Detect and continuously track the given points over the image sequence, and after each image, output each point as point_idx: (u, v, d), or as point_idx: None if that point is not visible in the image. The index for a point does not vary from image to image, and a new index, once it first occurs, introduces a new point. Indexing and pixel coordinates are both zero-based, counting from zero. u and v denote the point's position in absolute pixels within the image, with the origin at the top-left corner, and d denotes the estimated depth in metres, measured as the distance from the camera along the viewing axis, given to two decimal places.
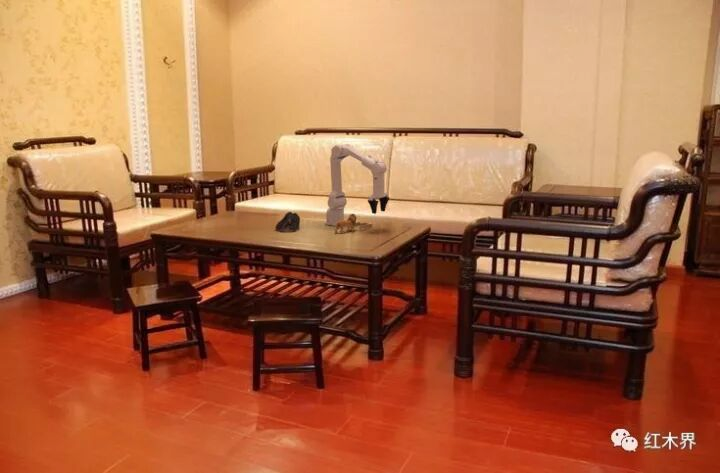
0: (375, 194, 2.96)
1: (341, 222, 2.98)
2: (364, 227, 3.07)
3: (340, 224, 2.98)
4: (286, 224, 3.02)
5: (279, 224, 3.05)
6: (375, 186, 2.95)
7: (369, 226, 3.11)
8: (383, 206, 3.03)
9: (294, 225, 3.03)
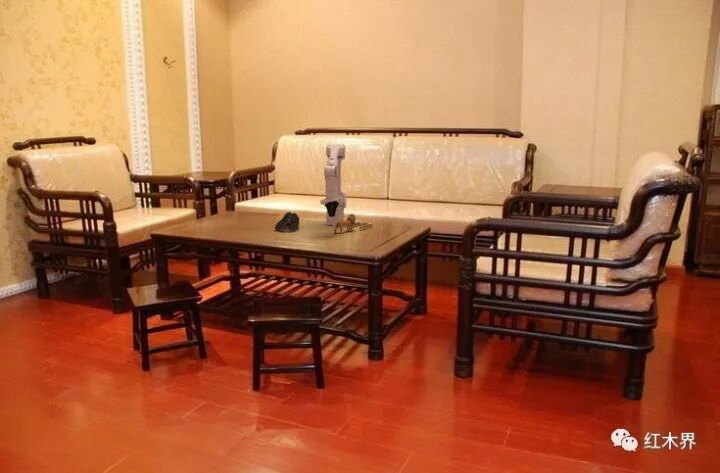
0: (327, 198, 2.87)
1: (340, 222, 2.97)
2: (364, 227, 3.07)
3: (339, 224, 2.97)
4: (285, 224, 3.02)
5: (278, 224, 3.05)
6: None
7: (369, 226, 3.11)
8: (333, 211, 2.91)
9: (293, 225, 3.03)
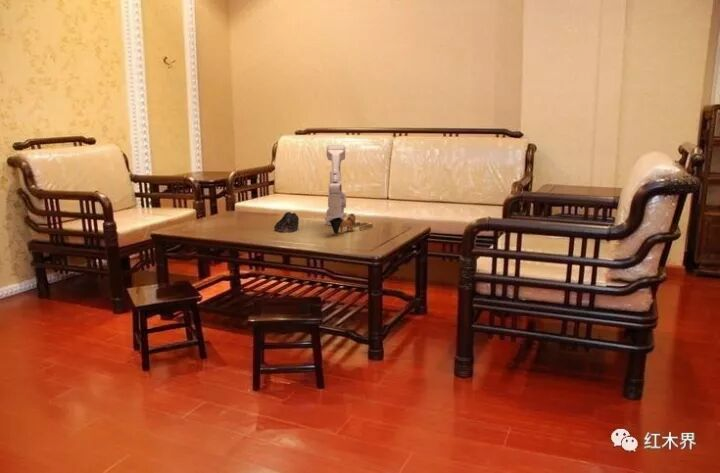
0: (332, 214, 2.92)
1: (341, 222, 2.98)
2: (364, 227, 3.07)
3: (340, 224, 2.98)
4: (285, 224, 3.02)
5: (278, 224, 3.05)
6: (329, 206, 2.93)
7: (369, 226, 3.11)
8: None
9: (293, 225, 3.03)
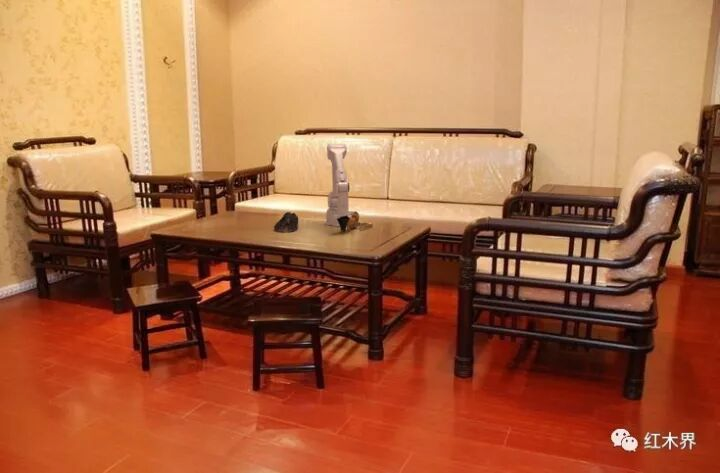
0: (339, 213, 2.96)
1: None
2: (364, 227, 3.07)
3: None
4: (285, 224, 3.01)
5: (278, 224, 3.05)
6: (337, 204, 2.97)
7: (369, 226, 3.11)
8: None
9: (293, 225, 3.03)
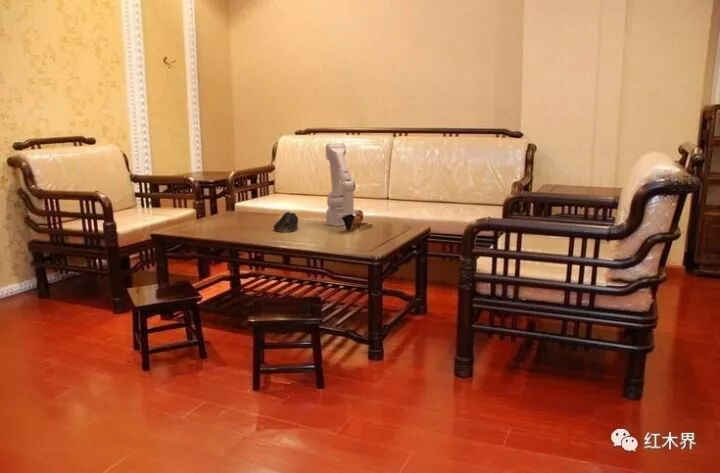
0: (344, 211, 2.99)
1: None
2: (364, 227, 3.07)
3: None
4: (284, 224, 3.01)
5: (277, 224, 3.04)
6: (342, 203, 3.00)
7: (369, 226, 3.11)
8: None
9: (292, 225, 3.03)
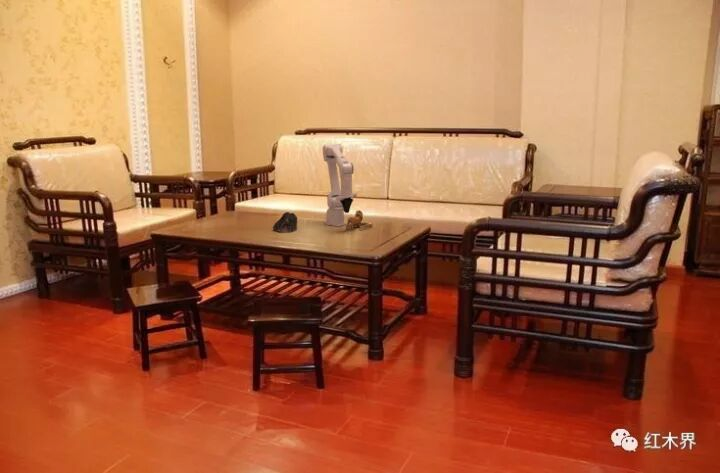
0: (343, 194, 2.98)
1: (352, 219, 3.06)
2: (364, 227, 3.07)
3: (351, 221, 3.05)
4: (284, 224, 3.01)
5: (277, 224, 3.04)
6: (341, 186, 2.98)
7: (369, 226, 3.11)
8: None
9: (292, 225, 3.03)
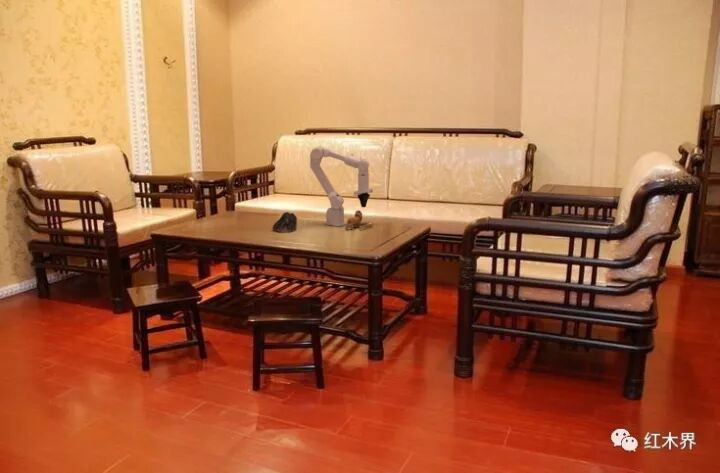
0: (360, 190, 3.12)
1: (351, 219, 3.05)
2: (364, 227, 3.07)
3: (351, 221, 3.05)
4: (284, 224, 3.01)
5: (276, 224, 3.04)
6: (363, 182, 3.11)
7: (369, 226, 3.11)
8: None
9: (291, 225, 3.03)
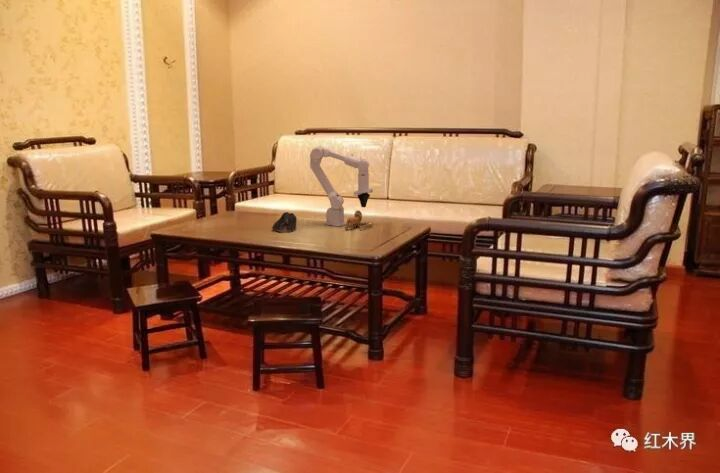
0: (360, 190, 3.12)
1: (351, 219, 3.05)
2: (364, 227, 3.07)
3: (350, 221, 3.05)
4: (283, 224, 3.01)
5: (276, 224, 3.04)
6: (363, 182, 3.11)
7: (369, 226, 3.11)
8: None
9: (291, 225, 3.03)
